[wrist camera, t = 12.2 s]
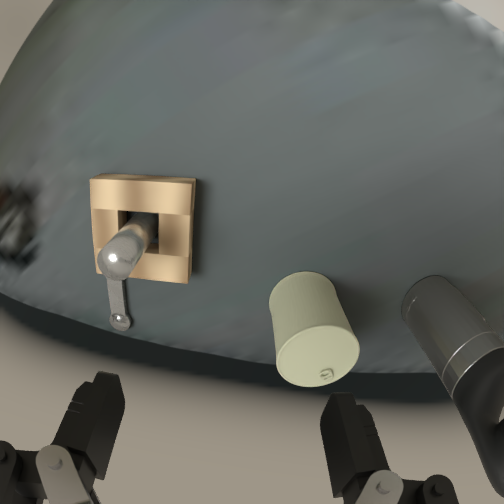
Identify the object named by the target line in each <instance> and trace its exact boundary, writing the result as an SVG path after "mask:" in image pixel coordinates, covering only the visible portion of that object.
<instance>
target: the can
mask: <svg viewBox="0 0 504 504" xmlns="http://www.w3.org/2000/svg"><path fill="white" fill-rule="evenodd" d="M269 308H270V312H271V314H272V321H273V329H274V338H275V347H276V358H277V359H276V365H277V369H278V371H279V373H280V375H281V376H282V377H283V378H284V379H286V380H287V381H288V382H290V383H292V384H295V385H299V386H304V387H316V386H322V385H326V384H329V383H332V382H334V381H336V380H338V379H340V378H341V377H342V376H344V375H345V374H346V373H348V372H349V371H350V370H351V369H352V367H353V366H354V365H355V363H356V361H357V359H358V356H359V352H360V347H359V342H358V340H357V338H356V337H355V335H354V333H353V331H352V329H351V327H350V324H349V322H348V320H347V318H346V316H345V313H344V311H343V309H342V307H341V304H340V302H339V300H338V297H337V295H336V291H335V288H334V286H333V284H332V283H331V281H330V280H329V279H327V278H326V277H325V276H323V275H321V274H319V273H315V272H308V271H304V272H298V273H294V274H291V275H289V276H287V277H285V278H284V279H282V280H281V281H280V282H279V283H278V284H277V285H276V286H275V287H274V289H273V291H272V293H271V295H270V299H269Z"/></svg>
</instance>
